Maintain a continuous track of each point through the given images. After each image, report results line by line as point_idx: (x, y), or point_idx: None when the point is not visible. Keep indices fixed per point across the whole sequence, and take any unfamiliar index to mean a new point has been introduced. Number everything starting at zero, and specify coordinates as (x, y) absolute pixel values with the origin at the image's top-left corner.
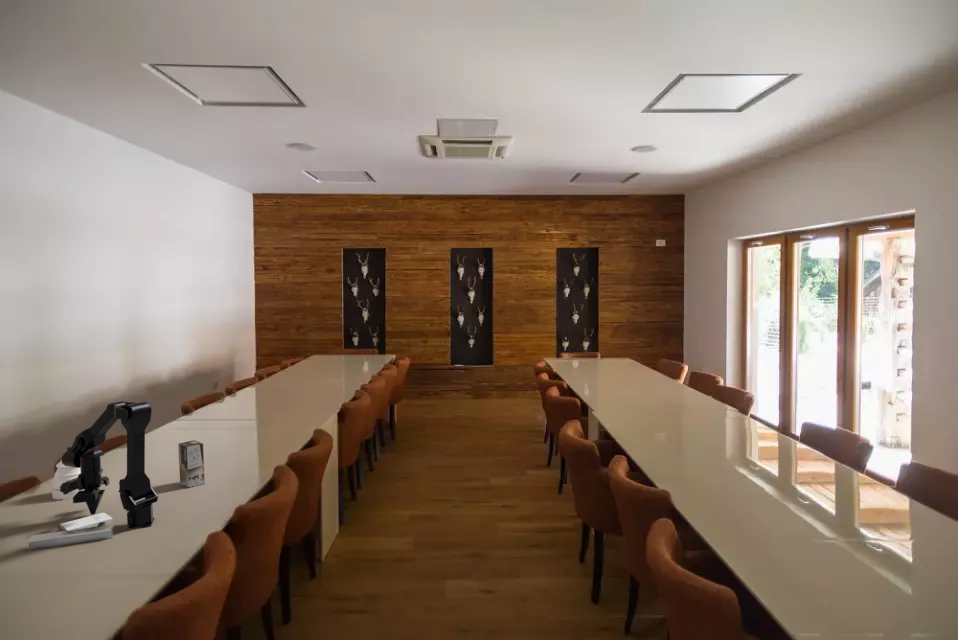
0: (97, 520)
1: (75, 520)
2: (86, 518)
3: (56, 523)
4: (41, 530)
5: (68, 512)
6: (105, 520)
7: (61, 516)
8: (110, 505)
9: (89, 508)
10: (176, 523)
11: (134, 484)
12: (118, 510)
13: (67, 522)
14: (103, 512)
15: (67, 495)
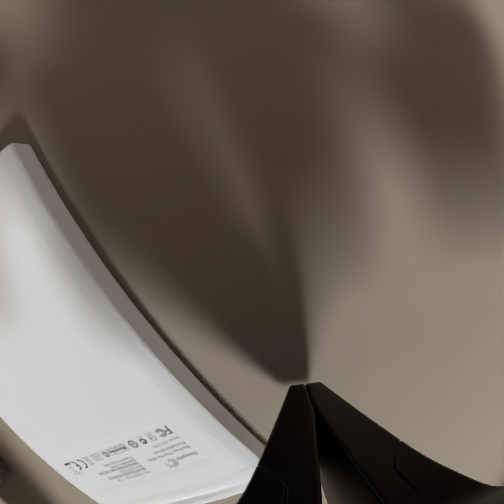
0: (68, 465)
1: (60, 297)
2: (111, 395)
3: (155, 40)
4: (17, 18)
5: (492, 76)
6: (86, 493)
7: (400, 23)
8: (496, 398)
9: (269, 446)
10: None
11: None
12: None
13: (16, 223)
14: None
15: None
